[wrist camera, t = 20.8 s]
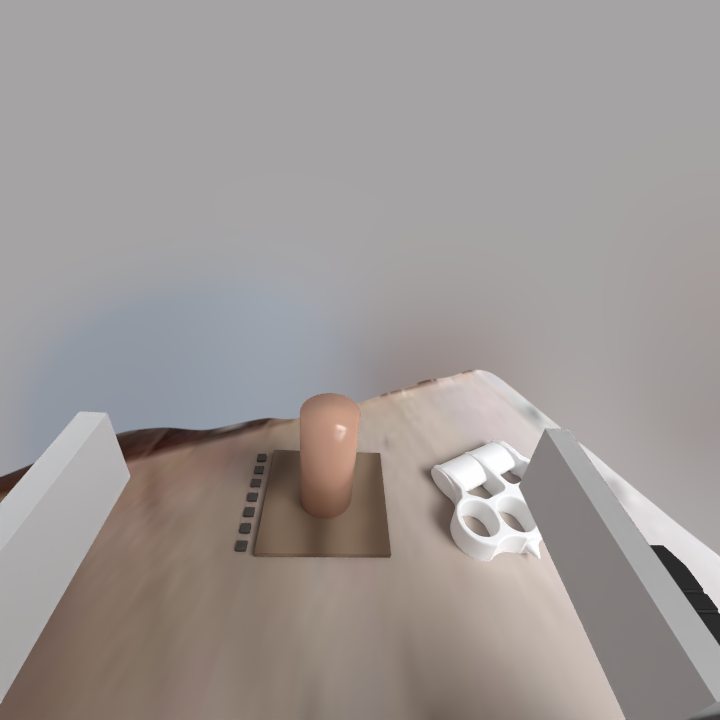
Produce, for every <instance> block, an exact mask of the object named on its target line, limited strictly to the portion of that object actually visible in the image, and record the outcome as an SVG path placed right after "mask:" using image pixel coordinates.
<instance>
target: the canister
mask: <svg viewBox="0 0 720 720" xmlns="http://www.w3.org/2000/svg"><path fill="white" fill-rule="evenodd" d="M360 416H361V413H360V409H359V407H358V405H357V404H356V403H355V402H354V401H353V400H351V399H350V398H348V397H345V396H343V395H339V394H332V393H327V394H320V395H316V396H313V397H311V398H310V399H308V400H307V401H306V402H305V403H304V404H303V405H302V407H301V410H300V500H301V504H302V506H303V508H304V509H305V510H306V512H308V513H309V514H310V515H312V516H314V517H317V518H321V519H330V518H334V517H337V516H339V515H341V514H342V513H344V512H345V511H346V510H347V508H348V507H349V505H350V503H351V497H352V488H353V479H354V470H355V461H356V452H357V443H358V434H359V425H360Z"/></svg>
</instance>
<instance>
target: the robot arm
mask: <svg viewBox="0 0 720 720" xmlns="http://www.w3.org/2000/svg"><path fill="white" fill-rule="evenodd" d="M129 479H130V474H129V471H128V468H127V466H126V463H125V460H124V457H123V455H122V452H121V449H120V446H119V444H118V441H117V438H116V435H115V433H114V430H113V427H112V424H111V422H110V419H109V416H108V413H101V412H79V413H78V414H77V415H76V416H75V417H74V419H73V420H72V421H71V422H70V423H69V424H68V425H67V427H66V428H65V429H64V430H63V431H62V432H61V433H60V435H59V436H58V437H57V438H56V439H55V441H54V442H53V443H52V444H51V445H50V446H49V447H48V449H47V450H46V451H45V452H44V453H43V454H42V456H41V457H40V458H39V459H38V460H37V461H36V462H35V464H34V465H33V466H32V467H31V468H30V469H29V471H28V472H27V473H26V474H25V475H24V476H23V477H22V479H21V480H20V481H19V482H18V483H17V484H16V486H15V487H14V488H13V489H12V490H11V491H10V493H9V494H8V495H7V496H6V497H5V498H4V499H3V501H2V502H1V503H0V704H1V702H2V700H3V699H4V697H5V695H6V693H7V692H8V690H9V688H10V686H11V685H12V683H13V681H14V679H15V678H16V676H17V674H18V672H19V671H20V669H21V667H22V665H23V664H24V662H25V660H26V658H27V657H28V655H29V653H30V651H31V650H32V648H33V646H34V644H35V643H36V641H37V639H38V637H39V636H40V634H41V632H42V631H43V629H44V627H45V625H46V624H47V622H48V620H49V618H50V617H51V615H52V613H53V611H54V610H55V608H56V606H57V604H58V603H59V601H60V599H61V597H62V596H63V594H64V592H65V590H66V589H67V587H68V585H69V583H70V582H71V580H72V578H73V576H74V575H75V573H76V571H77V569H78V568H79V566H80V564H81V562H82V561H83V559H84V557H85V555H86V554H87V552H88V550H89V549H90V547H91V545H92V543H93V542H94V540H95V538H96V536H97V535H98V533H99V531H100V529H101V528H102V526H103V524H104V522H105V521H106V519H107V517H108V515H109V514H110V512H111V510H112V508H113V507H114V505H115V503H116V501H117V500H118V498H119V496H120V494H121V493H122V491H123V489H124V487H125V486H126V484H127V482H128V480H129ZM518 487H519V489H520V491H521V493H522V495H523V497H524V500H525V502H526V504H527V506H528V508H529V510H530V513H531V515H532V517H533V519H534V521H535V523H536V526H537V528H538V530H539V532H540V534H541V536H542V539H543V541H544V543H545V545H546V547H547V549H548V552H549V554H550V556H551V558H552V560H553V562H554V565H555V567H556V569H557V571H558V573H559V575H560V578H561V580H562V582H563V584H564V586H565V588H566V591H567V593H568V595H569V597H570V599H571V601H572V603H573V606H574V608H575V610H576V612H577V614H578V616H579V619H580V621H581V623H582V625H583V627H584V629H585V632H586V634H587V636H588V638H589V640H590V642H591V645H592V647H593V649H594V651H595V653H596V655H597V658H598V660H599V662H600V664H601V666H602V668H603V671H604V673H605V675H606V677H607V679H608V681H609V684H610V686H611V688H612V690H613V692H614V694H615V697H616V699H617V701H618V703H619V705H620V707H621V710H622V712H623V714H624V716H625V718H626V720H720V614H719V613H718V608H717V607H716V606H715V604H714V603H713V602H712V600H711V599H710V598H709V596H708V595H707V594H705V593H704V592H703V588H702V587H701V586H700V584H699V583H698V581H697V580H696V579H695V577H694V576H693V575H692V573H691V572H690V571H689V569H688V568H687V567H686V566H685V565H684V564H683V563H682V562H681V561H680V560H679V559H678V558H677V557H675V556H674V555H673V554H672V553H671V552H670V551H669V550H668V549H666V548H665V547H664V546H663V545H649V544H648V542H647V541H646V539H645V538H644V537H643V535H642V534H641V532H640V531H639V529H638V528H637V527H636V525H635V524H634V522H633V521H632V519H631V518H630V517H629V515H628V514H627V512H626V511H625V509H624V508H623V507H622V505H621V504H620V502H619V501H618V499H617V498H616V497H615V495H614V494H613V492H612V491H611V489H610V488H609V486H608V485H607V484H606V482H605V481H604V479H603V478H602V476H601V475H600V474H599V472H598V471H597V469H596V468H595V466H594V465H593V464H592V462H591V461H590V459H589V458H588V456H587V455H586V454H585V452H584V451H583V449H582V448H581V446H580V445H579V444H578V442H577V441H576V439H575V438H574V436H573V435H572V434H571V432H570V431H569V430H568V429H545V430H544V432H543V434H542V437H541V439H540V441H539V443H538V445H537V447H536V449H535V452H534V454H533V456H532V458H531V460H530V462H529V464H528V467H527V469H526V471H525V473H524V475H523V477H522V479H521V482H520V484H519V486H518Z"/></svg>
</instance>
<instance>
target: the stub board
mask: <svg viewBox="0 0 720 720" xmlns="http://www.w3.org/2000/svg"><path fill="white" fill-rule="evenodd" d="M265 460H266V454H258V458H257V462H265ZM263 469H264V466H255V470H254V474H263ZM260 483H261V479H252V483H251V487H260ZM257 496H258V493H249V495H248V499H247V501H250V502H256V501H257ZM254 510H255V507H246V508H245V512H244V517H253V515H254ZM250 529H251V523H242V524H241V528H240V533H248V534H249V533H250ZM246 547H247V541H237V545H236V549H235V551H246ZM254 556H277V557H389V558H390V556H391V551H390V542H389V532H388V523H387V514H386V505H385V495H384V486H383V477H382V467H381V458H380V453H356V461H355V470H354V479H353V488H352V497H351V503H350V505H349V507H348V508H347V510H346V511H345V512H344V513H342V514H341V515H339V516H337V517H334V518H330V519H321V518H317V517H314V516H312V515H310V514H309V513H308V512H306V510H305V509H304V508H303V506H302V504H301V500H300V451H288V450H274V455H273V460H272V465H271V470H270V475H269V480H268V485H267V490H266V495H265V500H264V505H263V510H262V515H261V520H260V526H259V531H258V536H257V541H256V546H255V551H254Z"/></svg>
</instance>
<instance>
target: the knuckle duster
mask: <svg viewBox="0 0 720 720" xmlns="http://www.w3.org/2000/svg"><path fill="white" fill-rule="evenodd" d="M530 460H531V459H528V458H525V457H523V456H522V455H520V454H519V453H518V452H517V451H516V450H515V449H513V448H512V447H511V446H509V445H508V444H507V443H505V442H503V441H501V440H491V442H490V443H488V444H486V445H484V446H481V447H479V448H477V449H475V450H472V451H470V452H464V454H463V455H461V456H459V457H457V458H454V459H452V460H450V461H448V462H445V463H443V464H441V465H435V466H434V468H432V469H431V475H432V477H433V480H434V482H435V483H436V485H437V486H438V487H439V488H440V489H441V491H442V492H443V493H444V494H445V495H446V496H448V497H449V498H450V499H451V501H452V502H453V503H454V504H455V511H454V514H453V517H452V520H451V523H450V531H451V535H452V538H453V540H454V541H455V543H456V544H457V546H458V547H459V548H460V549H461V550H462V551H463V552H464V553H466V554H467V555H469V556H470V557H472V558H475V559H478V560H482V561H491V560H492V558H493V557H494V556H495V555H497V554H499V553H501V552H514V553H517V554H522V553H526V552H529V553H531V554H532V555H534V556H536V557H537V558H539V559H540V554H539V548H538V543H539V542H540V540H542V536H541V534H540V532H539V530H538V528H537V526H536V523H535V521H534V519H533V517H532V515H531V513H530V510H529V508H528V506H527V504H526V502H525V500H524V497H523V495H522V493H521V491H520V489H519V487H518V486H519V484H520V482H521V481H520V482H518V483H517V484H511V483H509V482H507V481H506V480H505V479H504V478H503V477H502V476H501V474H503V473H505V472H507V471H510V472H511V473H512V474H514V475H517V476H519V477H520V478H521V479H522V477H523V475H524V473H525V471H526V469H527V467H528V464H529V462H530ZM479 485H482V486H483V487H484V488H485V489H486V490H487V491H488V492H489V493H490V494H491V495H492V496H493V497H491V498H489V499H484V498H481V497H478V496H473V495H470V494H468V493H467V492H468V491H470V490H472V489H473V488H475V487H477V486H479ZM499 512H505V513H508V514H510V515H512V516H514V517H515V518H516V519H517V520H518V521H519V522H520V524H521V525H522V527H523V529H524V530H525V532H519V531H516V530H514V529H512V528H511V527H509V526H508V525H507V524H506V523H505V522H504V521H503V519H502V517H501V516H500V514H499ZM462 516H472V517H475V518H477V519H478V520H480V521H481V522H482V523H483V524H484V525H485V527H486V529H487V530H488V532H489V534H490V536H491V537H483V536H479V535H477V534H475V533H474V532H472V531H471V530H470V529H469V528H468V527H467V525H466V524H465V522H464V520H463V518H462ZM540 560H541V559H540Z"/></svg>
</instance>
